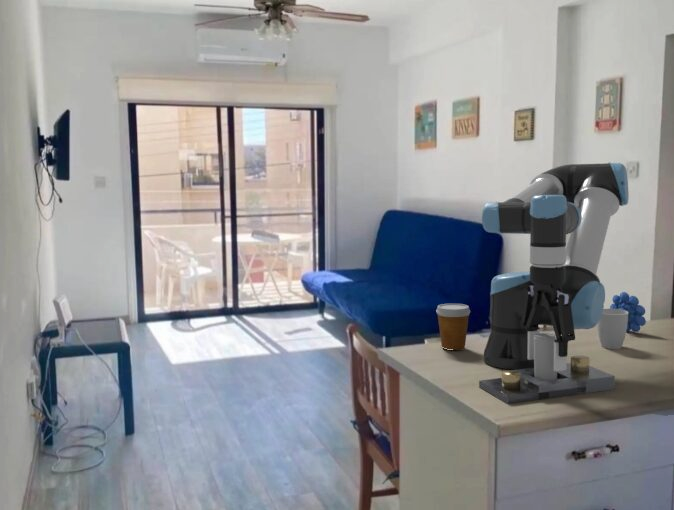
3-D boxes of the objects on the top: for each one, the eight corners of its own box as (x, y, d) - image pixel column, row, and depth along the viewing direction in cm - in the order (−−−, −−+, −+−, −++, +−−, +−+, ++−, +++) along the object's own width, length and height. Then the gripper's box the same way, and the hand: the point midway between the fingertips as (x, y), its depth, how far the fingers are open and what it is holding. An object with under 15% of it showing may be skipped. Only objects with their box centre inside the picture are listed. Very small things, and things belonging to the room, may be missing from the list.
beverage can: (560, 390, 143) (558, 336, 142) (538, 390, 143) (536, 337, 142) (553, 384, 148) (552, 332, 147) (532, 385, 148) (531, 333, 147)
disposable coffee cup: (476, 350, 178) (476, 308, 177) (445, 354, 176) (445, 310, 174) (460, 342, 187) (460, 302, 186) (430, 345, 185) (430, 304, 183)
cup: (629, 345, 180) (630, 310, 179) (624, 352, 174) (625, 315, 173) (598, 342, 185) (599, 307, 184) (593, 348, 178) (593, 312, 177)
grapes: (601, 329, 199) (602, 291, 198) (614, 326, 203) (615, 289, 202) (636, 336, 190) (637, 296, 188) (649, 333, 193) (651, 294, 192)
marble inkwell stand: (479, 387, 147) (479, 361, 146) (579, 374, 155) (579, 349, 154) (507, 403, 136) (508, 376, 135) (614, 389, 144) (615, 362, 143)
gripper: (595, 270, 133) (593, 376, 135) (533, 258, 154) (532, 350, 156) (564, 272, 131) (562, 380, 133) (505, 260, 152) (505, 354, 154)
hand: (546, 364), depth 145 cm, fingers open, 9 cm apart
